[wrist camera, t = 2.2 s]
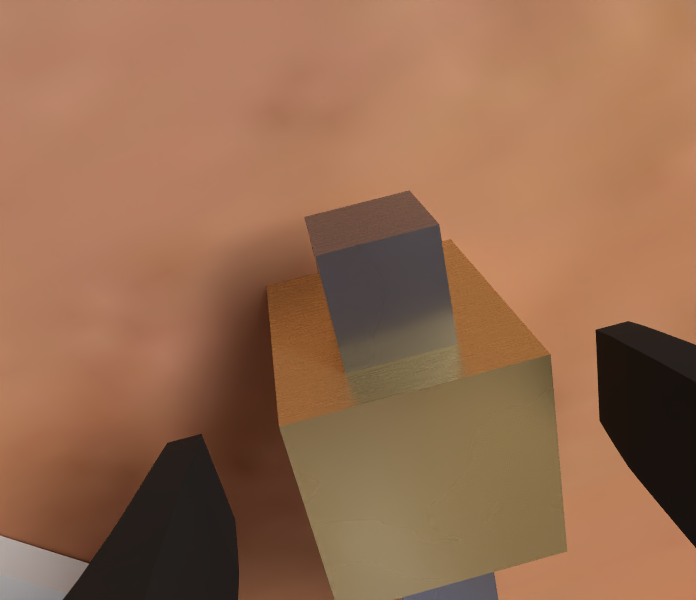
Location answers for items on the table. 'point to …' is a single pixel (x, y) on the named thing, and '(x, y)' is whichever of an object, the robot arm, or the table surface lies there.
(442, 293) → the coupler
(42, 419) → the table surface
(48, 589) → the bench
